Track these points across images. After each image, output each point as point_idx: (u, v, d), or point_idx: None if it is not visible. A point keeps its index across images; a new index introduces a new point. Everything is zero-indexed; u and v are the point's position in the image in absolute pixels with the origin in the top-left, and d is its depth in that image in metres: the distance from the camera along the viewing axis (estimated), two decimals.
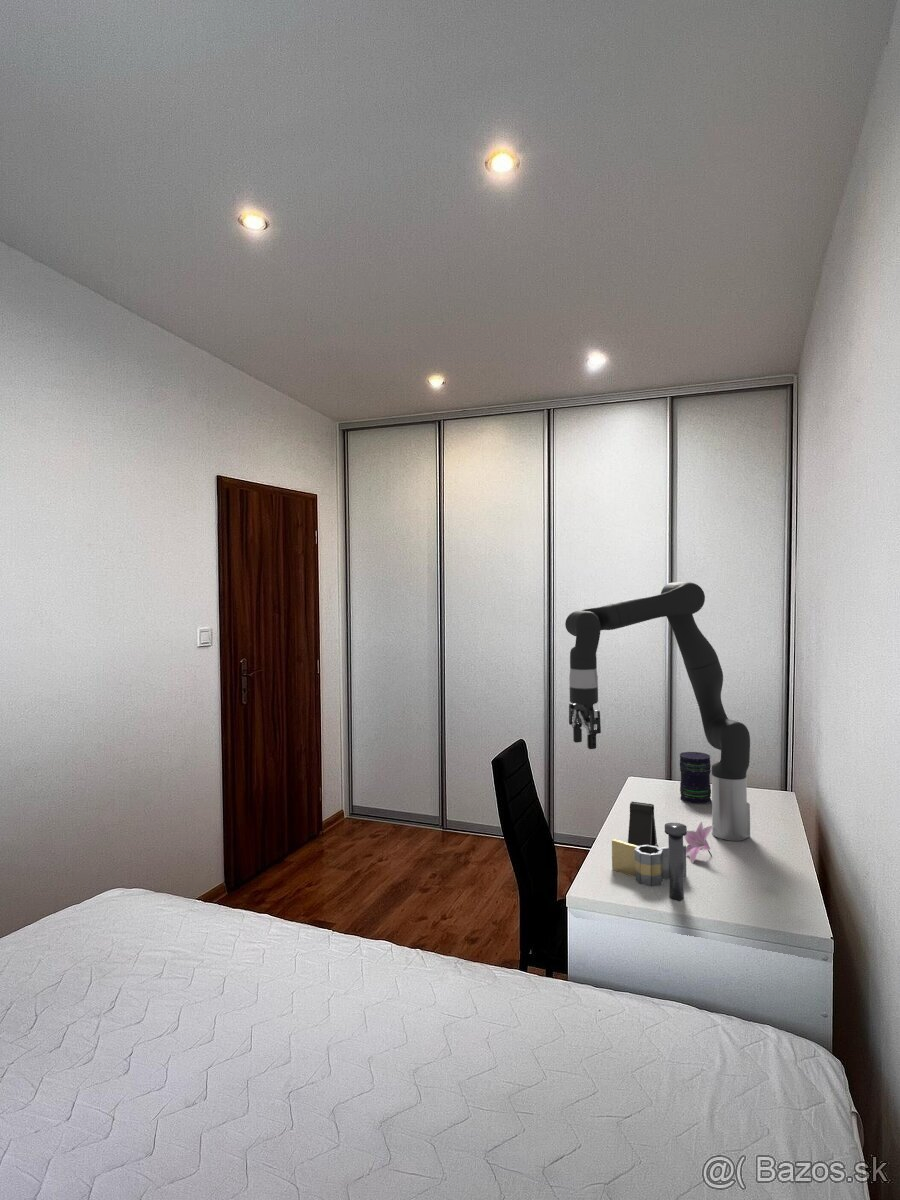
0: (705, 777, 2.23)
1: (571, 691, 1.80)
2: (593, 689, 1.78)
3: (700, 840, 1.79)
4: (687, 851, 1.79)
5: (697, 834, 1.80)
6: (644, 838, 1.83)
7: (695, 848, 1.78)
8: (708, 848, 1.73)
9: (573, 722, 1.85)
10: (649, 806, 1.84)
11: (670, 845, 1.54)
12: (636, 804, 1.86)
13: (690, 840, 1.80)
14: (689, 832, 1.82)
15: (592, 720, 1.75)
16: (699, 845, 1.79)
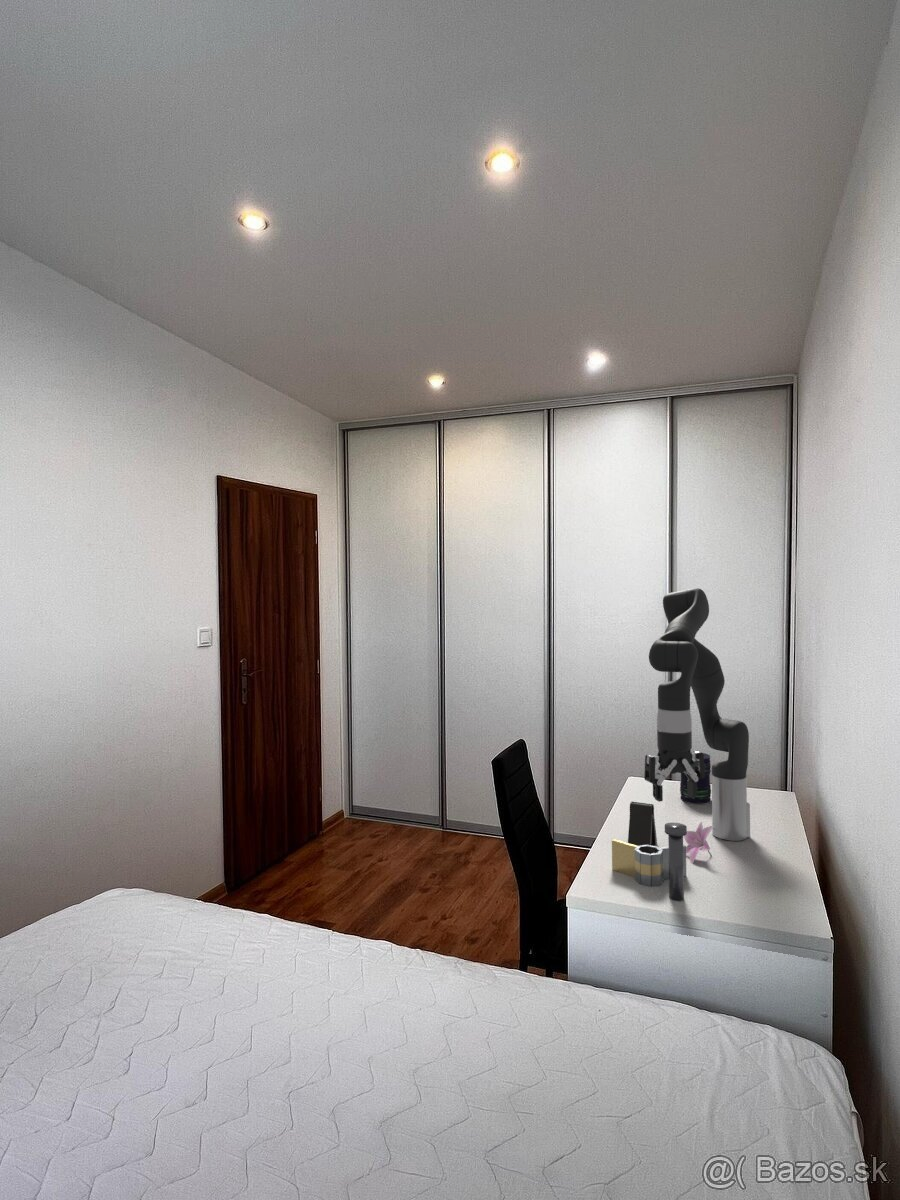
0: (705, 777, 2.23)
1: (684, 737, 1.51)
2: None
3: (700, 840, 1.79)
4: (687, 851, 1.79)
5: (697, 834, 1.80)
6: (644, 838, 1.83)
7: (695, 848, 1.78)
8: (708, 848, 1.73)
9: (661, 777, 1.53)
10: (649, 806, 1.84)
11: (670, 845, 1.54)
12: (636, 804, 1.86)
13: (690, 840, 1.80)
14: (689, 832, 1.82)
15: None
16: (699, 845, 1.78)
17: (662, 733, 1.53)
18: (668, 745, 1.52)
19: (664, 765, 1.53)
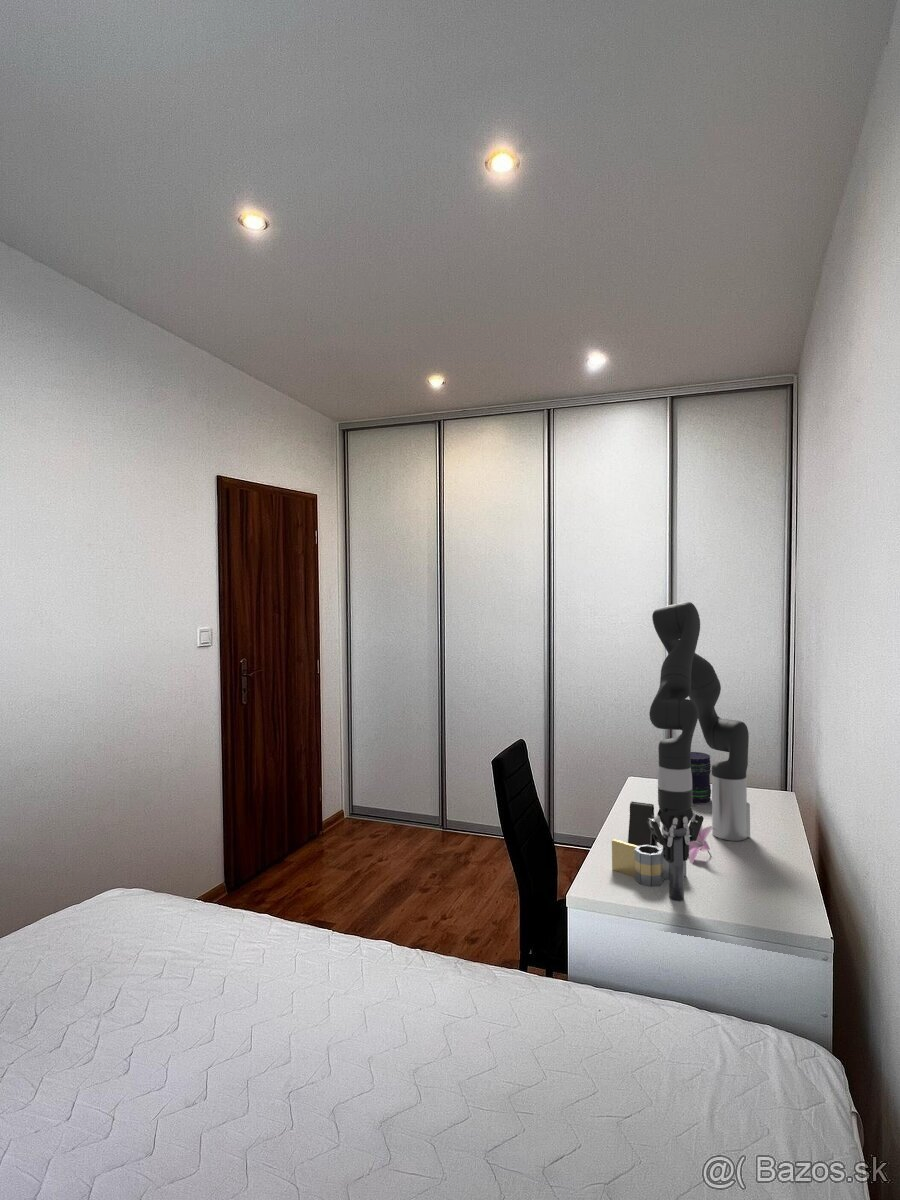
0: (705, 777, 2.23)
1: (685, 796, 1.51)
2: None
3: (699, 840, 1.79)
4: None
5: None
6: (644, 838, 1.83)
7: (694, 848, 1.77)
8: (708, 848, 1.73)
9: (669, 839, 1.53)
10: (649, 806, 1.84)
11: None
12: (636, 804, 1.86)
13: None
14: None
15: None
16: (698, 845, 1.78)
17: (663, 791, 1.53)
18: (669, 803, 1.52)
19: (667, 826, 1.53)
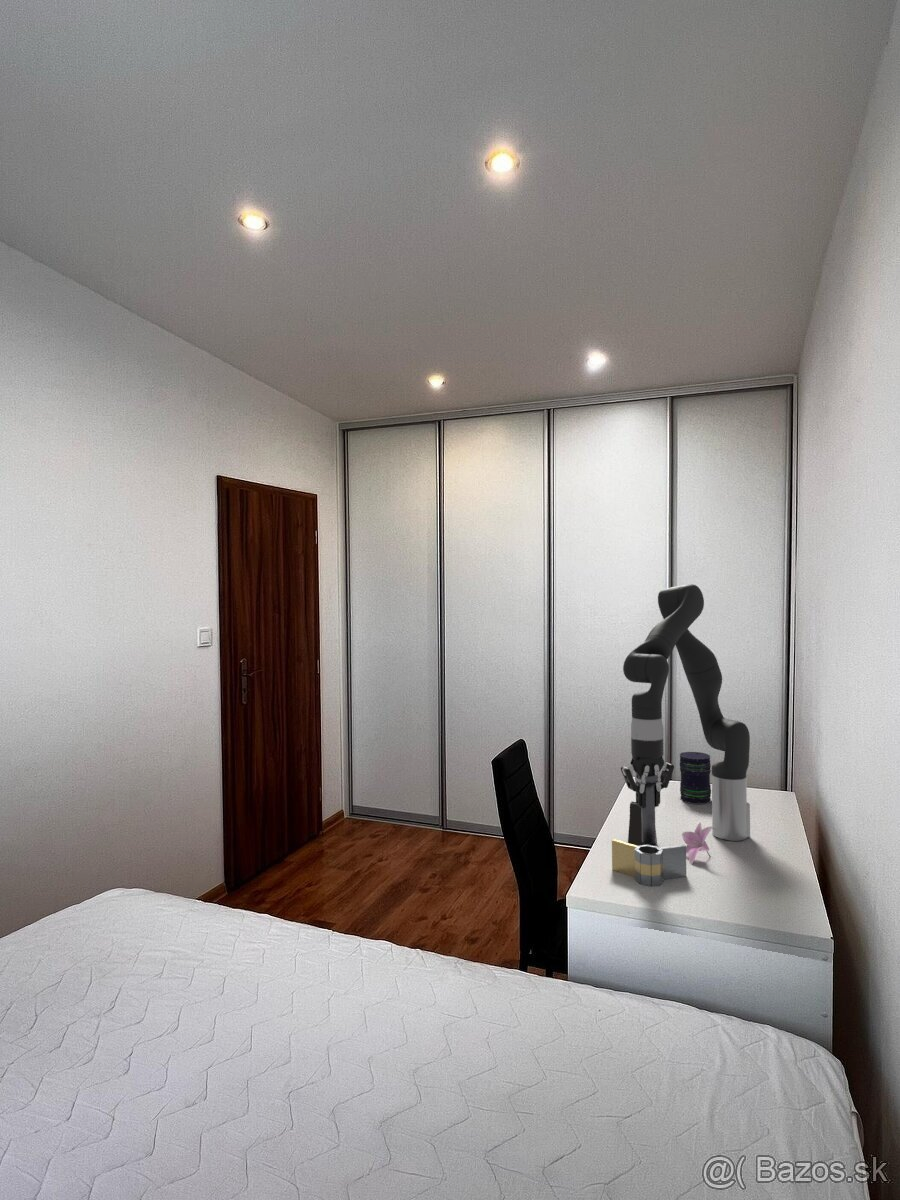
0: (705, 777, 2.23)
1: (656, 745, 1.61)
2: None
3: (699, 841, 1.78)
4: (686, 852, 1.79)
5: (696, 835, 1.79)
6: None
7: (694, 849, 1.77)
8: (707, 849, 1.72)
9: (641, 785, 1.62)
10: None
11: None
12: (636, 804, 1.86)
13: (688, 841, 1.80)
14: (687, 833, 1.82)
15: None
16: (698, 846, 1.78)
17: (635, 740, 1.62)
18: (641, 752, 1.61)
19: (639, 774, 1.63)
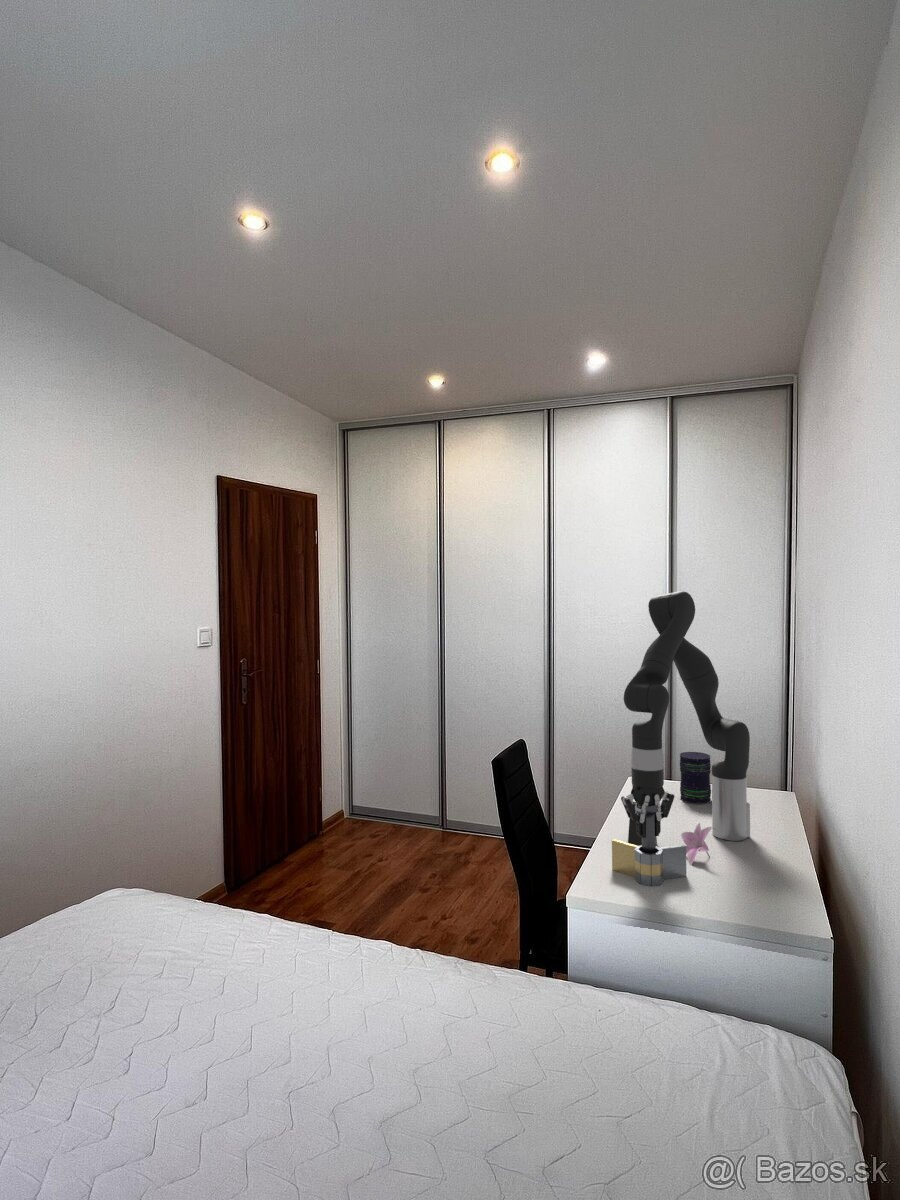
0: (705, 777, 2.23)
1: (656, 775, 1.61)
2: None
3: (698, 841, 1.78)
4: None
5: (695, 835, 1.79)
6: None
7: (693, 849, 1.77)
8: (707, 849, 1.72)
9: (642, 815, 1.63)
10: None
11: None
12: None
13: (688, 841, 1.80)
14: (687, 833, 1.81)
15: None
16: (697, 846, 1.78)
17: (636, 770, 1.62)
18: (641, 782, 1.61)
19: (640, 803, 1.63)
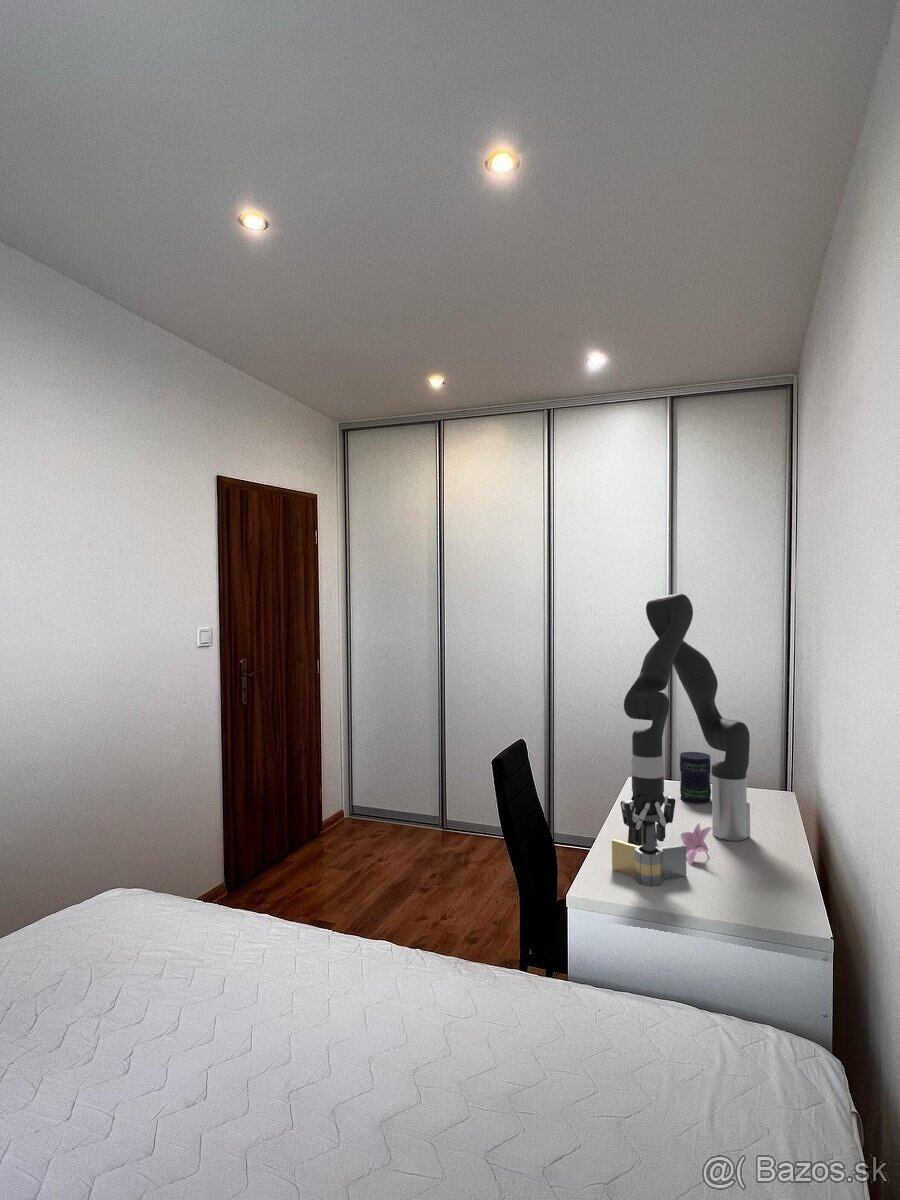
0: (705, 777, 2.23)
1: (657, 782, 1.61)
2: None
3: (697, 841, 1.78)
4: None
5: (694, 835, 1.79)
6: None
7: (693, 850, 1.77)
8: (706, 849, 1.72)
9: (638, 822, 1.62)
10: None
11: (643, 831, 1.64)
12: None
13: (687, 842, 1.79)
14: (686, 833, 1.81)
15: None
16: (697, 846, 1.78)
17: (636, 778, 1.62)
18: (641, 789, 1.61)
19: (639, 809, 1.63)
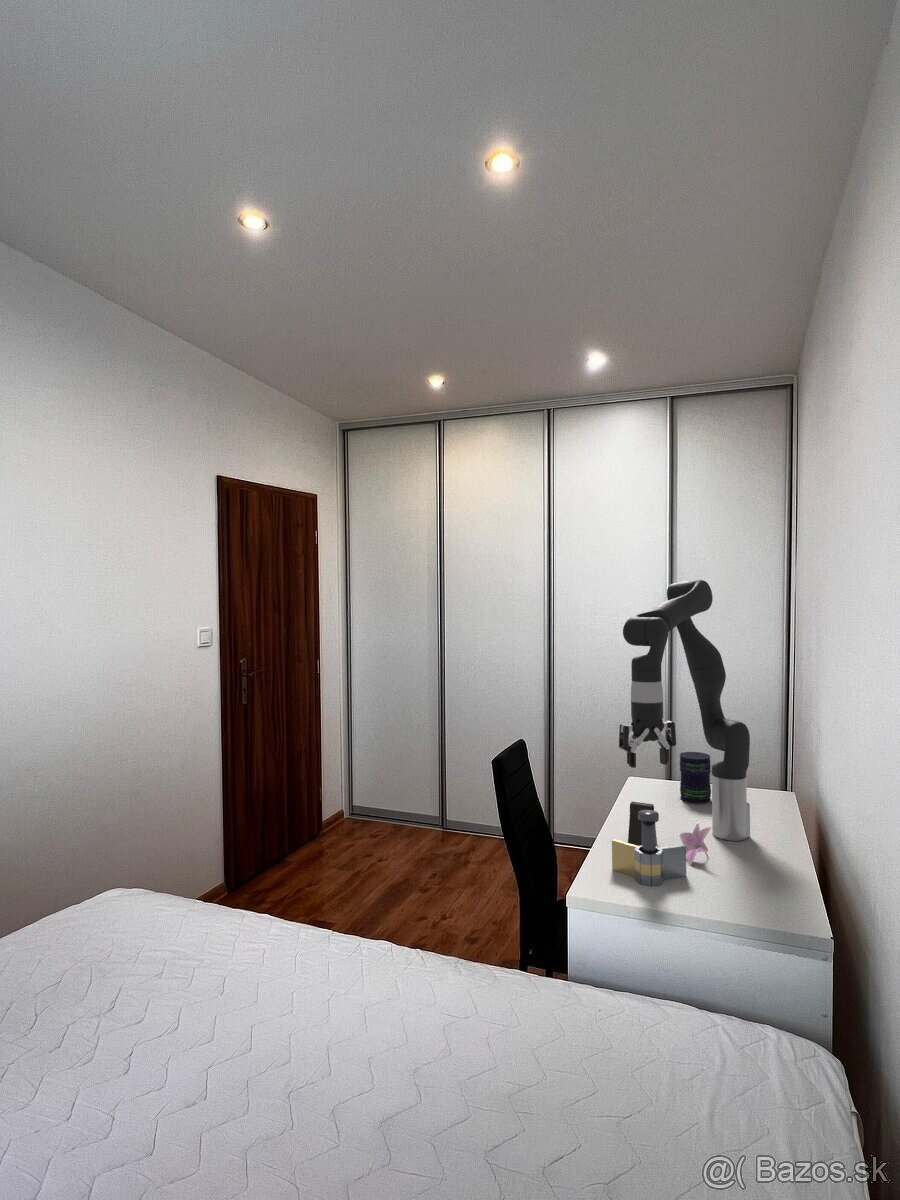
0: (705, 777, 2.23)
1: (656, 707, 1.61)
2: None
3: (697, 842, 1.78)
4: None
5: (694, 836, 1.79)
6: None
7: (692, 850, 1.76)
8: (706, 850, 1.72)
9: (634, 745, 1.62)
10: (649, 806, 1.84)
11: (643, 831, 1.64)
12: (636, 804, 1.86)
13: (687, 842, 1.79)
14: (685, 834, 1.81)
15: (674, 731, 1.65)
16: (696, 847, 1.77)
17: (635, 703, 1.62)
18: (641, 714, 1.61)
19: (637, 733, 1.63)
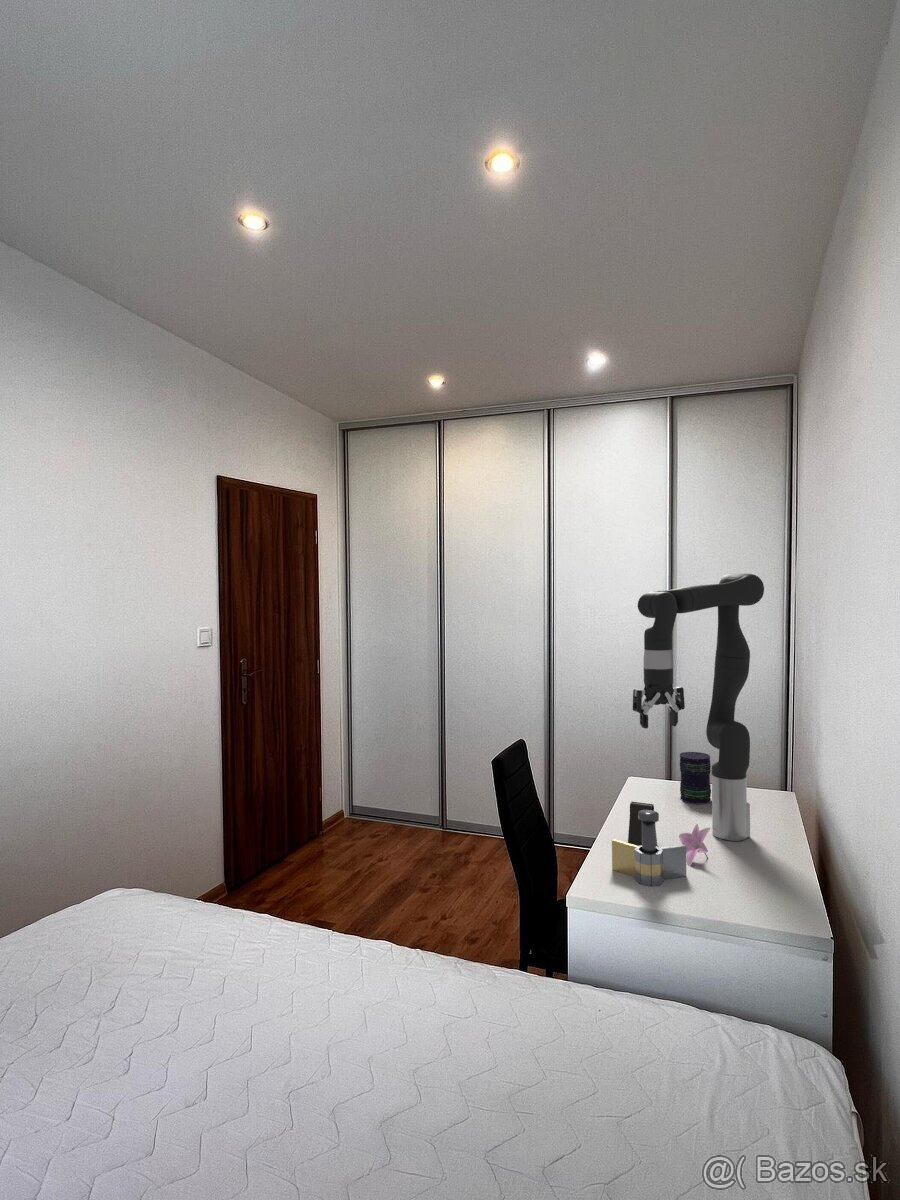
0: (705, 777, 2.23)
1: (666, 673, 1.77)
2: None
3: (696, 842, 1.78)
4: None
5: (693, 836, 1.78)
6: None
7: (692, 850, 1.76)
8: (706, 850, 1.72)
9: (647, 708, 1.78)
10: (649, 806, 1.84)
11: (643, 831, 1.64)
12: (636, 804, 1.86)
13: (686, 842, 1.79)
14: (685, 834, 1.81)
15: None
16: (695, 847, 1.77)
17: (647, 670, 1.79)
18: (653, 680, 1.78)
19: (649, 697, 1.79)
